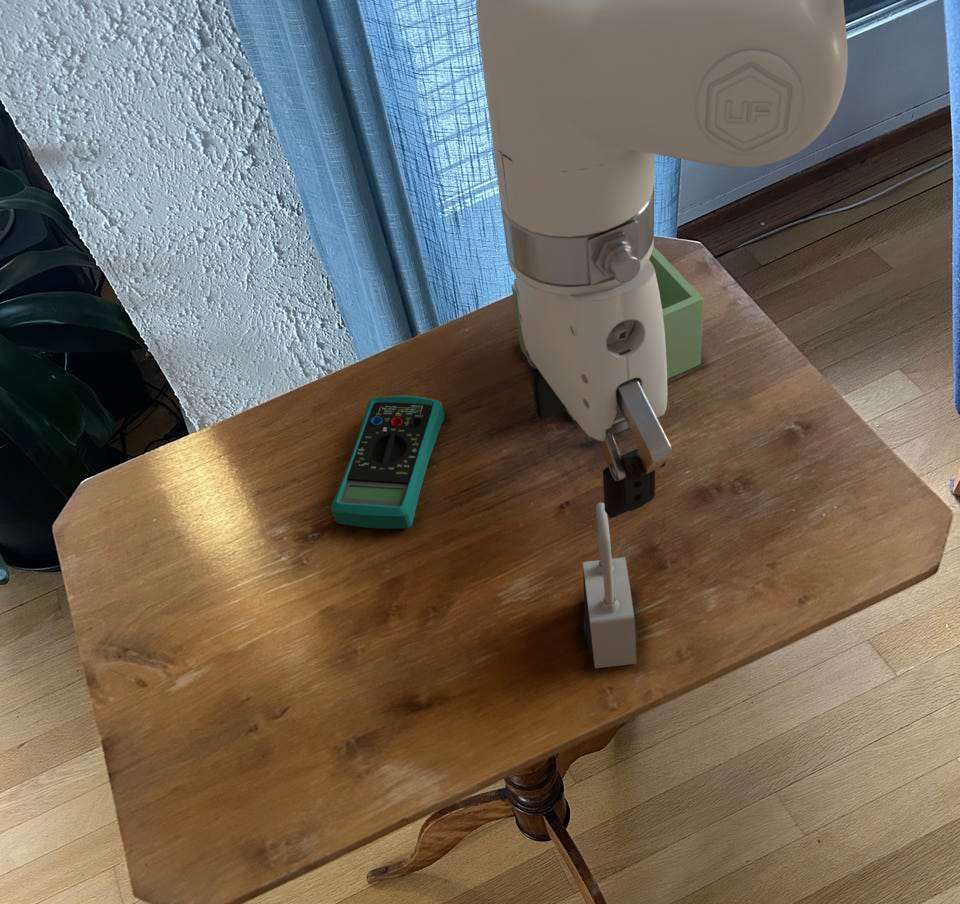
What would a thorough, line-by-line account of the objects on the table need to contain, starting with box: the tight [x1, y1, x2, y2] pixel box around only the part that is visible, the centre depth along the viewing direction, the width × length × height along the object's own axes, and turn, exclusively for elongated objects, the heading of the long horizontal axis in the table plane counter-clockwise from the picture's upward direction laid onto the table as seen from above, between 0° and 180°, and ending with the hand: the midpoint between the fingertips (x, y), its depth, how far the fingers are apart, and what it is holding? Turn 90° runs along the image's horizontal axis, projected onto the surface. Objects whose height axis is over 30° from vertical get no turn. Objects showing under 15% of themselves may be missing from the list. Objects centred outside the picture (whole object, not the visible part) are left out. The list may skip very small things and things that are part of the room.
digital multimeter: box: [330, 394, 445, 530], centre depth 95 cm, size 7×15×3 cm, turn 168°
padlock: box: [582, 501, 638, 669], centre depth 77 cm, size 7×4×15 cm, turn 2°
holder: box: [511, 246, 704, 421], centre depth 97 cm, size 12×14×8 cm
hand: (592, 455), depth 66 cm, fingers open, 9 cm apart
